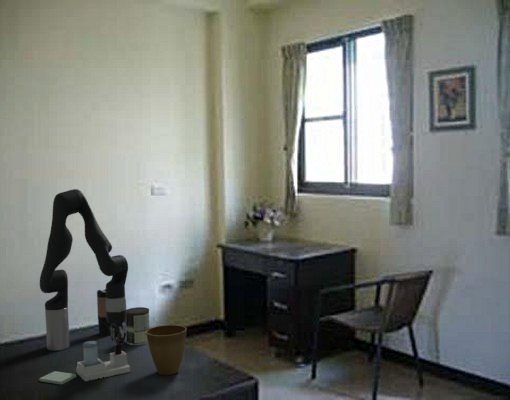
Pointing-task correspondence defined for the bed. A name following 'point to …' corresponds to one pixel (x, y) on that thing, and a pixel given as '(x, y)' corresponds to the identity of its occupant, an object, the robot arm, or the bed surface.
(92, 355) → the blue-grey elongated rounded piece
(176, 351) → the plant pot
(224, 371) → the bed surface
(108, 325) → the travel mug
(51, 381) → the mat
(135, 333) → the coffee can
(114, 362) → the housing
